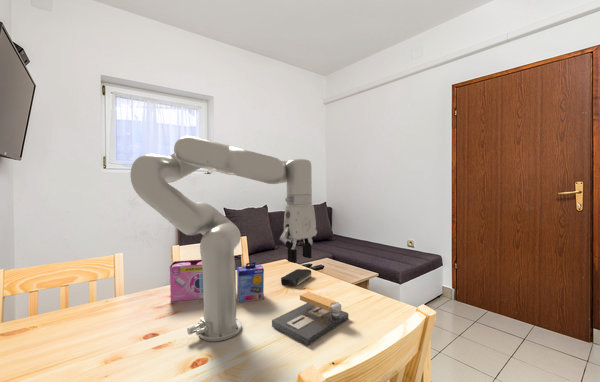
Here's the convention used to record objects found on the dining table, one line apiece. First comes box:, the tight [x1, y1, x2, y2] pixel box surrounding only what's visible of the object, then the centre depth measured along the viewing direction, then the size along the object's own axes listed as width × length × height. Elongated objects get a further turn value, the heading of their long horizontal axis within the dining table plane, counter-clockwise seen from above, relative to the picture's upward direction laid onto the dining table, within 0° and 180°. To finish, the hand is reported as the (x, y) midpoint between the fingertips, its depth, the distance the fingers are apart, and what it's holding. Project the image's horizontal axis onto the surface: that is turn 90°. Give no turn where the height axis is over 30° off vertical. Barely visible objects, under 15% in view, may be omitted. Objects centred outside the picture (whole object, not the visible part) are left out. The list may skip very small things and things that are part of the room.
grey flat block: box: [271, 302, 349, 347], centre depth 87 cm, size 20×15×4 cm
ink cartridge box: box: [236, 261, 265, 303], centre depth 106 cm, size 10×6×14 cm, turn 111°
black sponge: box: [280, 268, 312, 287], centre depth 125 cm, size 16×8×4 cm, turn 151°
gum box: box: [169, 259, 203, 302], centre depth 109 cm, size 24×8×14 cm, turn 103°
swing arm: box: [299, 291, 342, 313], centre depth 90 cm, size 4×15×2 cm, turn 47°
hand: (299, 259), depth 83 cm, fingers open, 5 cm apart
